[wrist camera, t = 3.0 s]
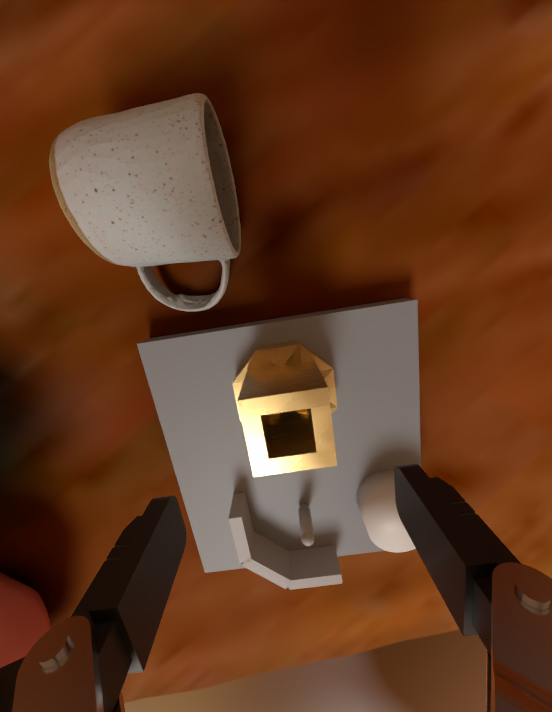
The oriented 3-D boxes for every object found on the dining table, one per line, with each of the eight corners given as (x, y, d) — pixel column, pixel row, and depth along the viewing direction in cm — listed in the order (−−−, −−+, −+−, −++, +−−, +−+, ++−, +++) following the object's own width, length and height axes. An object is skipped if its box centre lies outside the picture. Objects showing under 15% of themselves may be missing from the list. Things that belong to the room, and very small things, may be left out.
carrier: (404, 298, 21) (448, 303, 15) (411, 526, 26) (446, 588, 21) (149, 338, 22) (108, 356, 16) (210, 552, 27) (194, 617, 22)
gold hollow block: (326, 335, 19) (350, 360, 13) (335, 422, 21) (361, 481, 15) (229, 350, 20) (208, 381, 13) (247, 435, 22) (236, 498, 15)
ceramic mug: (108, 160, 18) (-3, 82, 11) (228, 139, 18) (195, 45, 11) (151, 316, 21) (86, 337, 14) (255, 300, 21) (244, 313, 14)
